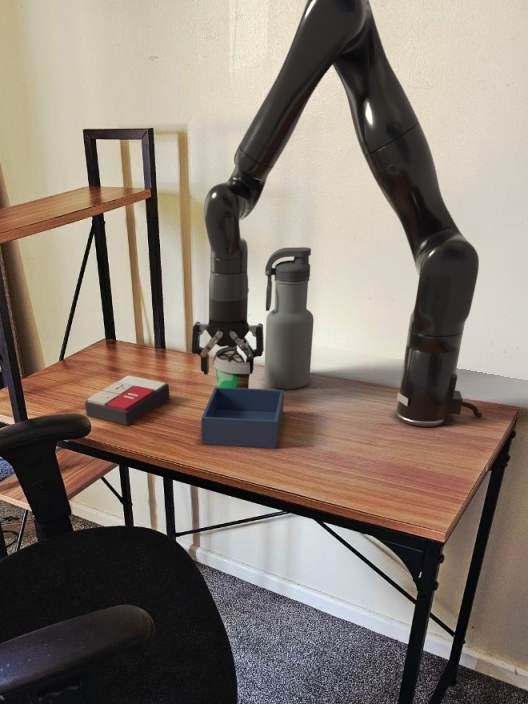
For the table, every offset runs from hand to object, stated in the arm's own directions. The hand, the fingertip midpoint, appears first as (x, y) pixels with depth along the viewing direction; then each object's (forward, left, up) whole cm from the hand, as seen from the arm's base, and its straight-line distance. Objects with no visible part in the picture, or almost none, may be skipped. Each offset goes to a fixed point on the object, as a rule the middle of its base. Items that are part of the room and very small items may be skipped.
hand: (227, 374), depth 145 cm
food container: (0, 0, -6) cm, 6 cm away
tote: (-5, +13, -6) cm, 15 cm away
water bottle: (-11, -12, -6) cm, 18 cm away
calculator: (+20, +6, -6) cm, 22 cm away
